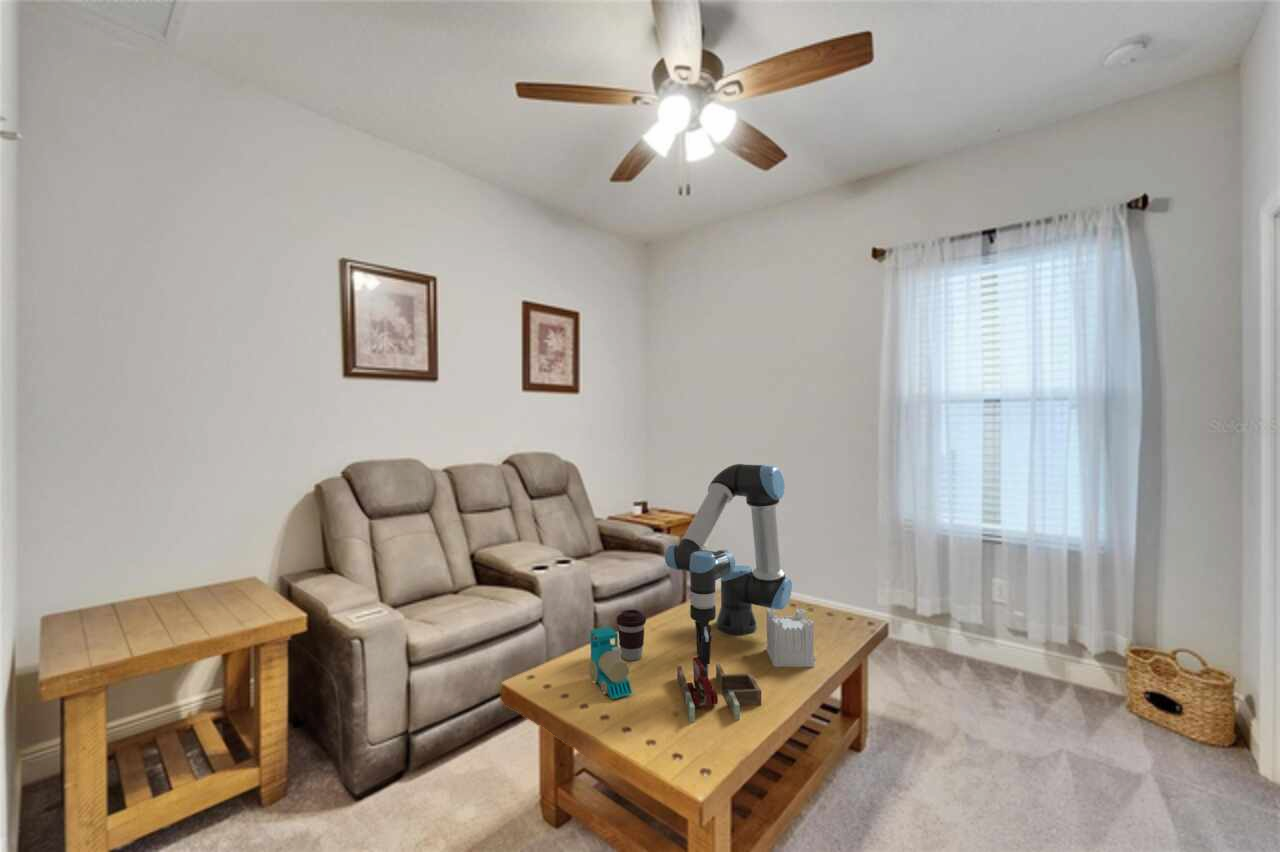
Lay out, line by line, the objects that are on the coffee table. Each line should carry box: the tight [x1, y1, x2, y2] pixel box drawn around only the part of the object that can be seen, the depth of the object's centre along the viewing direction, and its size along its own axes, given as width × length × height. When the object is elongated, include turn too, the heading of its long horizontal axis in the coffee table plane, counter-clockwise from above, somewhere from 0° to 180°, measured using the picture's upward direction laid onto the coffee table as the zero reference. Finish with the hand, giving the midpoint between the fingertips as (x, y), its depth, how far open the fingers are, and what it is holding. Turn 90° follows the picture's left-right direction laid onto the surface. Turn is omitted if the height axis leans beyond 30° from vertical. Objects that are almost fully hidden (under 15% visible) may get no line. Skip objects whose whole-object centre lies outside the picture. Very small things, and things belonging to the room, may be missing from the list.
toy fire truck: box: [687, 656, 719, 709], centre depth 155 cm, size 7×12×10 cm, turn 10°
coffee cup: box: [616, 609, 647, 662], centre depth 184 cm, size 10×10×15 cm
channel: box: [676, 664, 741, 723], centre depth 157 cm, size 24×13×4 cm, turn 4°
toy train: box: [588, 626, 633, 700], centre depth 164 cm, size 8×17×15 cm, turn 27°
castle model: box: [765, 608, 817, 668], centre depth 182 cm, size 13×15×14 cm
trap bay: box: [721, 673, 762, 707], centre depth 158 cm, size 10×9×4 cm
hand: (703, 683), depth 161 cm, fingers closed
